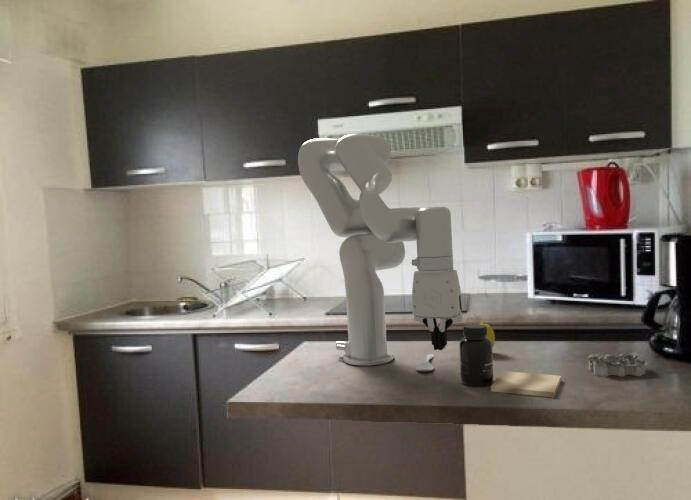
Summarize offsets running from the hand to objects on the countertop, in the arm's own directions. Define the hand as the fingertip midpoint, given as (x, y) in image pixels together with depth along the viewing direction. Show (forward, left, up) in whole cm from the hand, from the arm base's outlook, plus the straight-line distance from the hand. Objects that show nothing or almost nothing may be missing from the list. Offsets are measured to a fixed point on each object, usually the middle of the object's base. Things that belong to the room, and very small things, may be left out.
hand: (439, 348), depth 121 cm
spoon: (-7, +12, -7) cm, 16 cm away
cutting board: (+18, +1, -7) cm, 19 cm away
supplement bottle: (+8, 0, -7) cm, 10 cm away
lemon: (+4, +23, -7) cm, 24 cm away
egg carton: (+34, +16, -7) cm, 38 cm away
